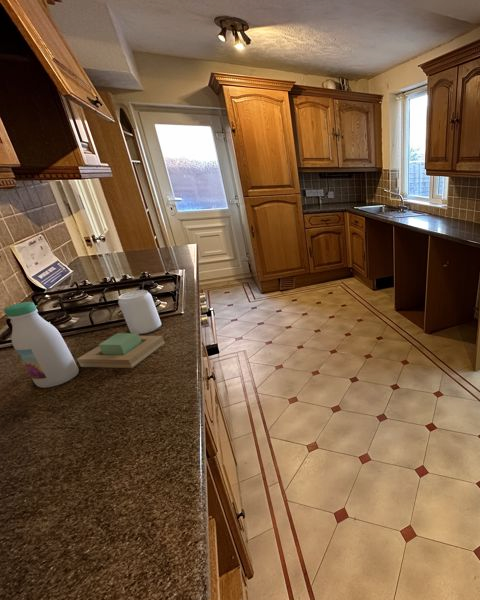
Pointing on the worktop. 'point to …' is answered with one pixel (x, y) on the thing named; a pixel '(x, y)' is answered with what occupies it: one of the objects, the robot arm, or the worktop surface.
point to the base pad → (122, 361)
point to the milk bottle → (40, 346)
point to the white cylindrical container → (139, 311)
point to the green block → (120, 344)
